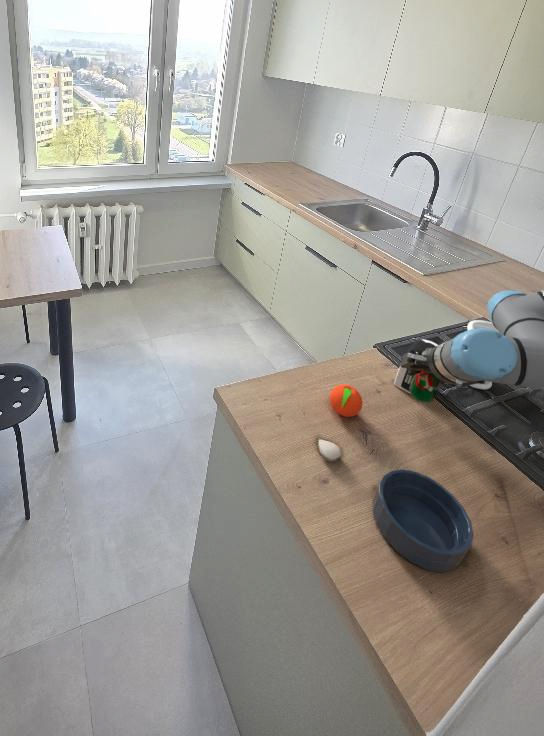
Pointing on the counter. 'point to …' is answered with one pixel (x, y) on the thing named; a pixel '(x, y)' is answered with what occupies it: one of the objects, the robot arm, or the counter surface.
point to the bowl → (422, 520)
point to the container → (402, 377)
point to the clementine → (346, 400)
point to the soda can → (424, 384)
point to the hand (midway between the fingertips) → (423, 373)
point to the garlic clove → (329, 450)
